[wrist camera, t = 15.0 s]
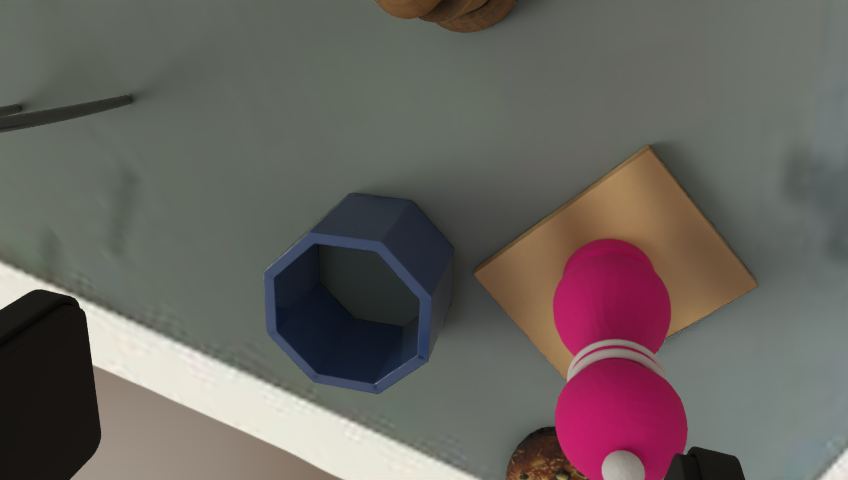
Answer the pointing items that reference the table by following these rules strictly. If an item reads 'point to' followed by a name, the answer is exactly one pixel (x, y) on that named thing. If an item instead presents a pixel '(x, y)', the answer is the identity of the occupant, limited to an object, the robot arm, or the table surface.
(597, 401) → the pepper mill
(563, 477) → the bread roll
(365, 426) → the table surface
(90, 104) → the juicer
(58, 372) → the robot arm
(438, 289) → the utensil crock
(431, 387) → the table surface
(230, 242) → the table surface
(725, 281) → the oak board
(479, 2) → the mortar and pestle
